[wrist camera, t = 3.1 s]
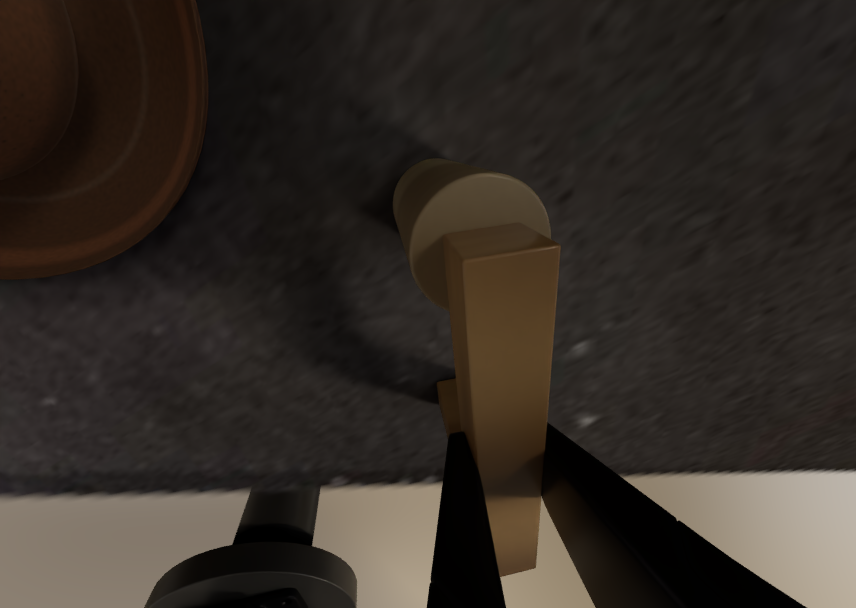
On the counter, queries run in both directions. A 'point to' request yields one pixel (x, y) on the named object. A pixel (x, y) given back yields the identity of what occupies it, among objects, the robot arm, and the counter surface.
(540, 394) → the brown bracket-shaped piece
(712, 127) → the counter surface
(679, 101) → the counter surface
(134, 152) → the cup and saucer
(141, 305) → the counter surface
